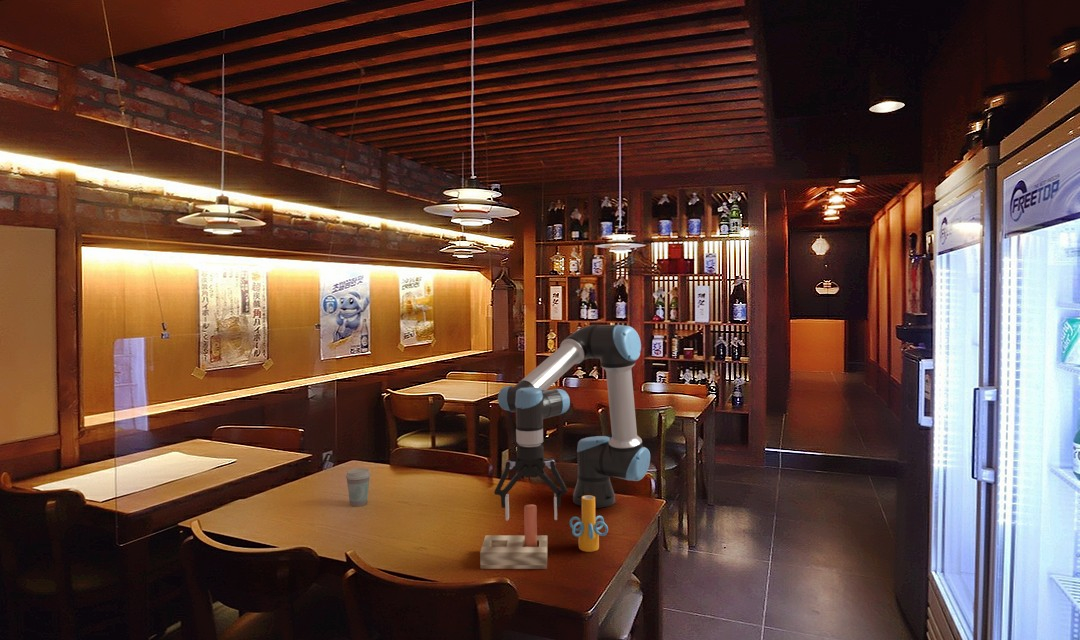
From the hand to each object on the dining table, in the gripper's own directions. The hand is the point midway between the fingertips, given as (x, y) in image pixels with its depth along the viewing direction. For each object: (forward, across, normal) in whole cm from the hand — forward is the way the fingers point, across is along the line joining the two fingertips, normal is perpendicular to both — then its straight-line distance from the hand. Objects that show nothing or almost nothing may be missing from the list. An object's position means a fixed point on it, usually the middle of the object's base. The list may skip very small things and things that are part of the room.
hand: (531, 518), depth 171 cm
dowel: (+10, 0, 0) cm, 10 cm away
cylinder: (+12, -16, -8) cm, 21 cm away
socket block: (+11, +5, 0) cm, 12 cm away
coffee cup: (+12, +65, -46) cm, 81 cm away
